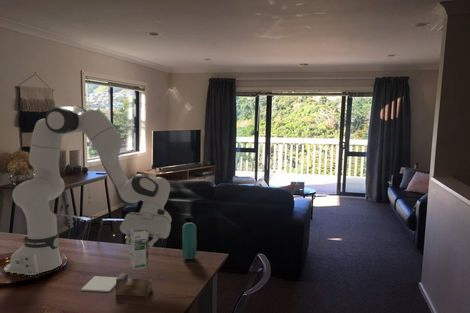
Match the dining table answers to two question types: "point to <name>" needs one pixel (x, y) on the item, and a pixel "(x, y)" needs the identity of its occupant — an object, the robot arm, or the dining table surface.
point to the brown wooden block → (132, 286)
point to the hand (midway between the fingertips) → (138, 245)
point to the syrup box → (139, 248)
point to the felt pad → (100, 284)
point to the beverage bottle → (189, 238)
